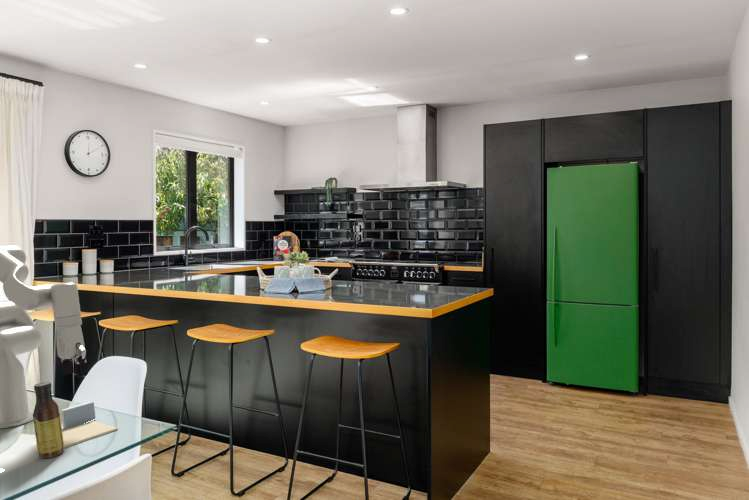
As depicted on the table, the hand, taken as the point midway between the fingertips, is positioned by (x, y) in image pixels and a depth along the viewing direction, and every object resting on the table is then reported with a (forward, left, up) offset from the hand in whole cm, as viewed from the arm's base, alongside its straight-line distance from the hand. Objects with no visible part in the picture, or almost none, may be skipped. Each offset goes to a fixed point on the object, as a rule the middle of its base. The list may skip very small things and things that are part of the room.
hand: (75, 375), depth 180 cm
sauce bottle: (+21, -17, -16) cm, 31 cm away
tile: (0, 0, -16) cm, 16 cm away
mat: (+11, -5, -16) cm, 20 cm away
